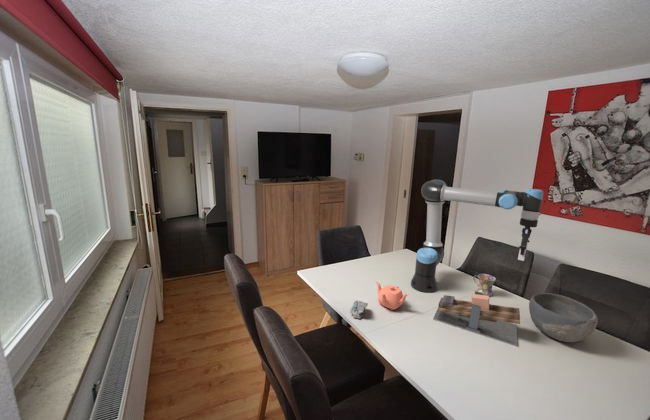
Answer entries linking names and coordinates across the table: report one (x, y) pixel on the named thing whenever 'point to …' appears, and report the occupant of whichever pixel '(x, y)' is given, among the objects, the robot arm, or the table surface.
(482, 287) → the mug
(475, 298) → the block
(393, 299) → the teapot
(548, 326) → the bowl
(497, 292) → the table surface
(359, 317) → the mineral specimen
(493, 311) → the beam
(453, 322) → the stand
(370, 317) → the table surface
